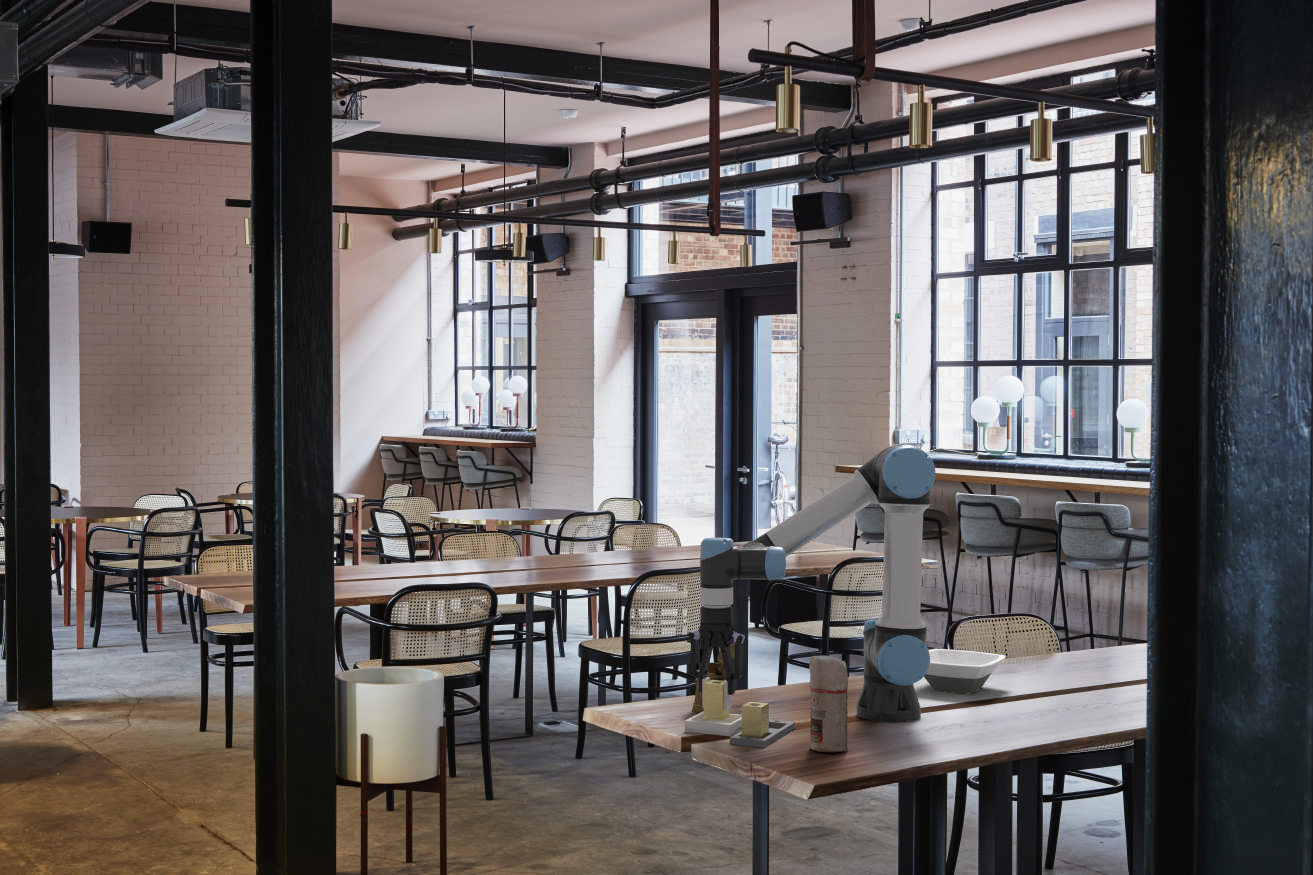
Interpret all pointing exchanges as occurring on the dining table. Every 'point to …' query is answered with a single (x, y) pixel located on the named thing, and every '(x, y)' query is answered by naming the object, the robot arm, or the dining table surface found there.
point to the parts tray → (714, 725)
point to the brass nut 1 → (714, 701)
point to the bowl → (960, 669)
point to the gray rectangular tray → (774, 734)
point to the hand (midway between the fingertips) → (716, 707)
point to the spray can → (828, 704)
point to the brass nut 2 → (755, 720)
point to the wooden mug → (712, 677)
